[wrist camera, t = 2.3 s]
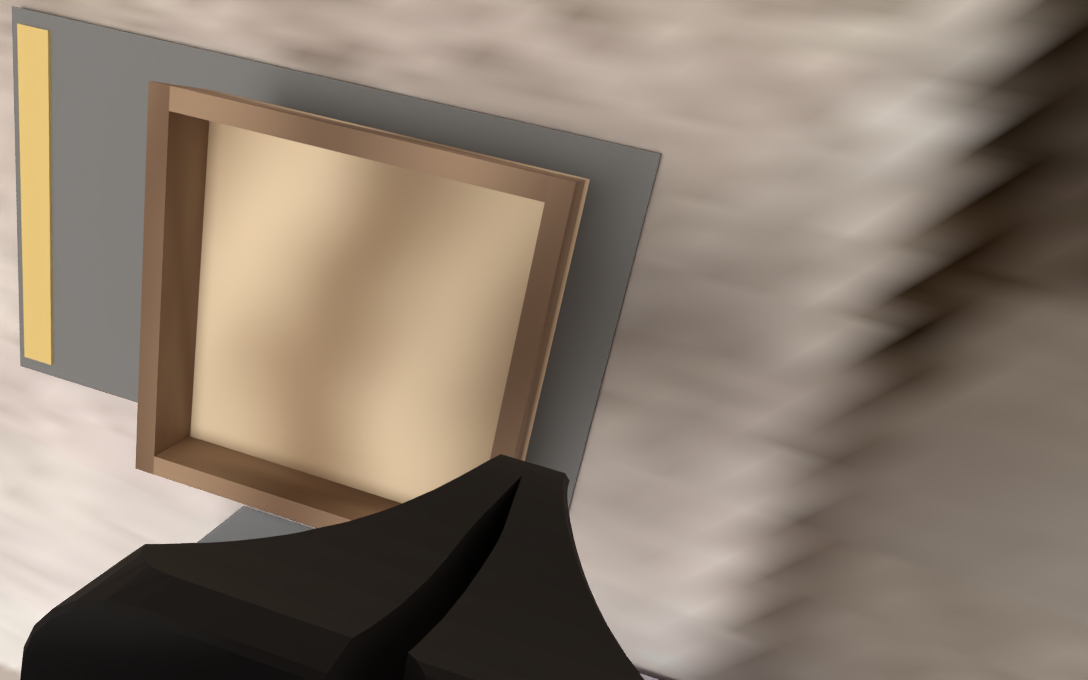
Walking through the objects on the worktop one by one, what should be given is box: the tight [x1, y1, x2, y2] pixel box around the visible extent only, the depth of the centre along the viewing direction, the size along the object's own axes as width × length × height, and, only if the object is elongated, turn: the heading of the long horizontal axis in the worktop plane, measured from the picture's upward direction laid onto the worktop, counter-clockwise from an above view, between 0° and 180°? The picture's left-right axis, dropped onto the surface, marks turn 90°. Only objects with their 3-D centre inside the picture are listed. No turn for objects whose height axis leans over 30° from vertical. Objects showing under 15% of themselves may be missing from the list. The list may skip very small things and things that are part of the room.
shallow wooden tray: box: [136, 81, 590, 528], centre depth 20 cm, size 11×11×5 cm
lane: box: [12, 6, 661, 509], centre depth 23 cm, size 22×13×1 cm, turn 78°
